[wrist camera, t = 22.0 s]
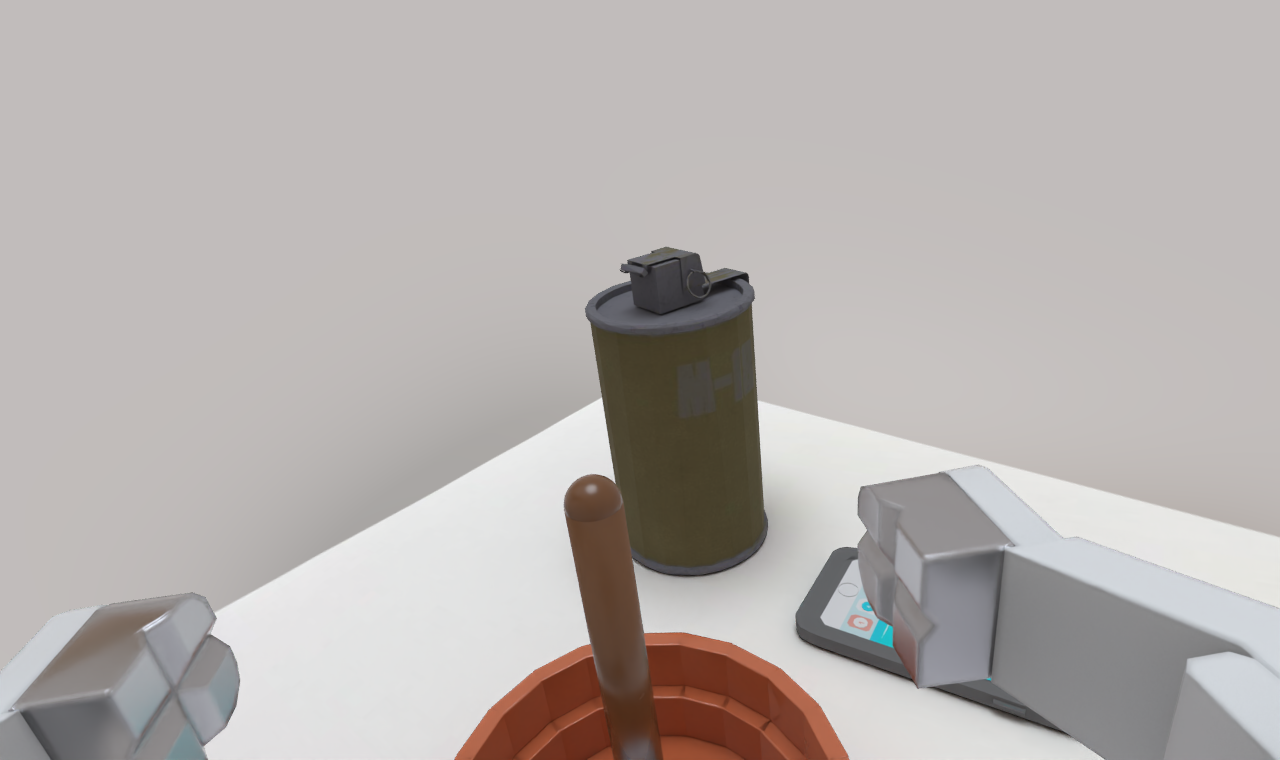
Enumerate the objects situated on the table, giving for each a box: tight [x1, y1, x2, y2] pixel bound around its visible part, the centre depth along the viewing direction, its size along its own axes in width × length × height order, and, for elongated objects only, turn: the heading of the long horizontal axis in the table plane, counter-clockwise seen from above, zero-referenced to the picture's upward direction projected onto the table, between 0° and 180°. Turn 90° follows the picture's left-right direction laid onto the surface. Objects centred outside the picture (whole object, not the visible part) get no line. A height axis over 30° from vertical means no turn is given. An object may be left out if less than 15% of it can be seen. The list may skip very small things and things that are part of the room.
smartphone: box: [796, 547, 1063, 731], centre depth 39 cm, size 9×1×15 cm
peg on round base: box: [564, 474, 664, 760], centre depth 25 cm, size 6×6×19 cm
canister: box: [585, 247, 768, 575], centre depth 47 cm, size 11×10×20 cm
